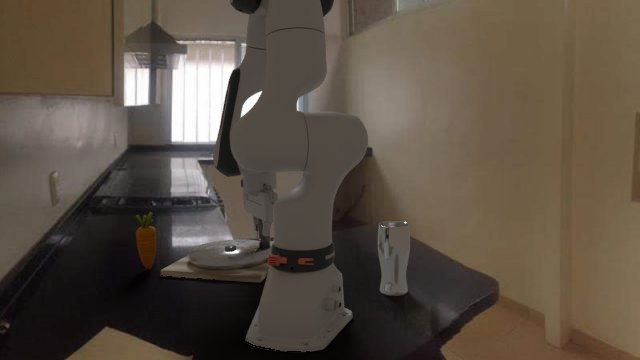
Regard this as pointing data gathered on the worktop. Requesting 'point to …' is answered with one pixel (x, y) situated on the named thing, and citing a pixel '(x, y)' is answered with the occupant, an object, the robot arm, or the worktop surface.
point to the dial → (231, 253)
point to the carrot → (146, 241)
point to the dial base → (217, 272)
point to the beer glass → (393, 256)
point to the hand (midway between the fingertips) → (261, 233)
